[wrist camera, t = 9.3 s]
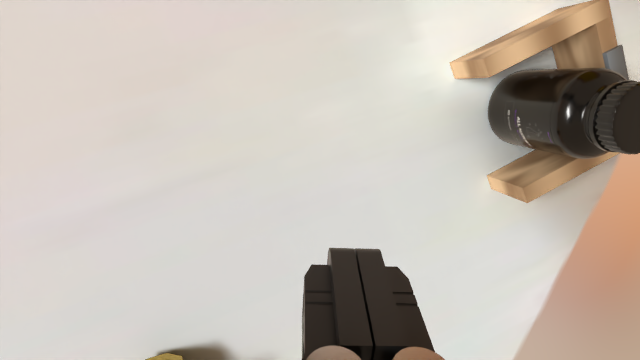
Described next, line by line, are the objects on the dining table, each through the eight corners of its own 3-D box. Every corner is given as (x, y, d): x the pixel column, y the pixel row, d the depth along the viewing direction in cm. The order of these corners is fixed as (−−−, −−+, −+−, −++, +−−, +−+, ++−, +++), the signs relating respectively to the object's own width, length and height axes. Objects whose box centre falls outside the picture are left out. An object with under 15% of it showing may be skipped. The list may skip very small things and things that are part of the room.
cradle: (491, 188, 39) (530, 204, 34) (449, 62, 35) (486, 58, 30) (588, 136, 40) (641, 144, 35) (558, 8, 36) (612, -5, 31)
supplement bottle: (473, 130, 37) (580, 149, 25) (503, 59, 36) (629, 46, 24) (529, 153, 39) (653, 181, 27) (560, 87, 38) (701, 87, 26)
